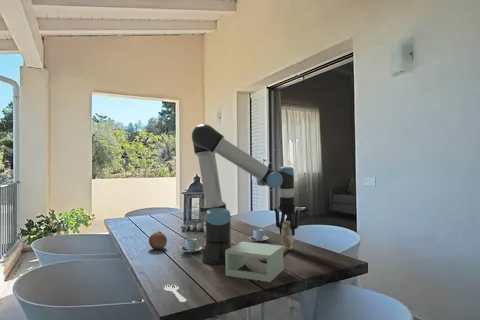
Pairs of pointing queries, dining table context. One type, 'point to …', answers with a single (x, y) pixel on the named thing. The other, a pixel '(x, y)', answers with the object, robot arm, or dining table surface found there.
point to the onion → (157, 240)
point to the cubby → (239, 251)
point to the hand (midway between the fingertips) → (287, 241)
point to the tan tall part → (284, 237)
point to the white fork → (175, 292)
